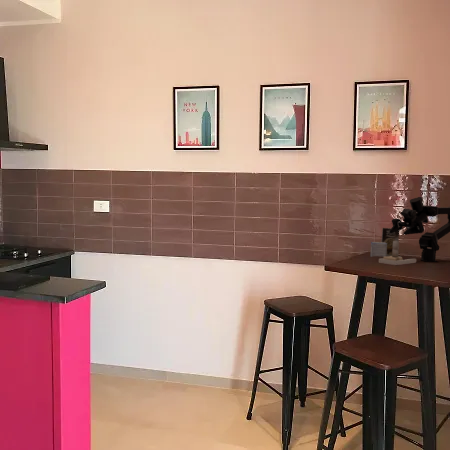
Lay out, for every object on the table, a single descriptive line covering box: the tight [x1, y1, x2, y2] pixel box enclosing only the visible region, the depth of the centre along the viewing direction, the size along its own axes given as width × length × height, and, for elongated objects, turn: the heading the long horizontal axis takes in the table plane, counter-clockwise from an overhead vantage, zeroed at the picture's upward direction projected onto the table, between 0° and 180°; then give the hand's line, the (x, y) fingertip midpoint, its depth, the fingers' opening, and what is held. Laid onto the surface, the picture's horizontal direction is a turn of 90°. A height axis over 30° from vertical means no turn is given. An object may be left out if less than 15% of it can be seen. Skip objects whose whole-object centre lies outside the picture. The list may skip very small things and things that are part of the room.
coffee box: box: [380, 227, 400, 256], centre depth 299 cm, size 9×6×16 cm
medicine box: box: [369, 241, 387, 258], centre depth 291 cm, size 8×4×9 cm, turn 84°
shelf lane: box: [378, 255, 417, 266], centre depth 267 cm, size 19×10×3 cm, turn 130°
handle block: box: [382, 240, 403, 261], centre depth 264 cm, size 7×6×11 cm
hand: (396, 233), depth 273 cm, fingers open, 9 cm apart
